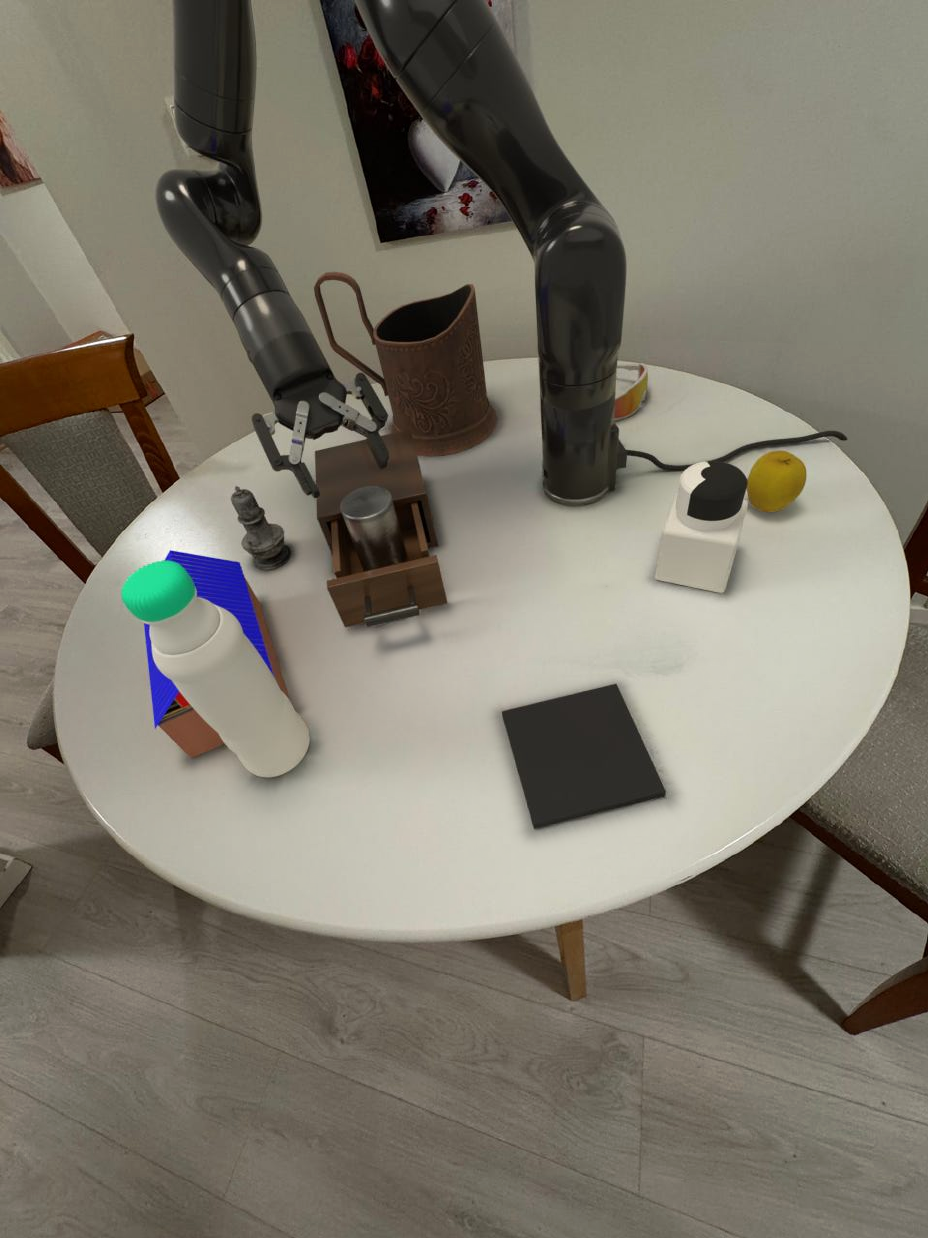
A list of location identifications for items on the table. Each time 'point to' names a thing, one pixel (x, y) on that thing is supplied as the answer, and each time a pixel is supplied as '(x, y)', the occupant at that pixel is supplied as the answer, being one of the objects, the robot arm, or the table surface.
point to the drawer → (385, 577)
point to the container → (703, 527)
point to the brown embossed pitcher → (428, 368)
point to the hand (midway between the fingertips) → (351, 480)
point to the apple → (775, 481)
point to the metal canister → (374, 527)
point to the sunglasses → (631, 392)
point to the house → (235, 595)
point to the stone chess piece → (259, 532)
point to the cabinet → (370, 479)
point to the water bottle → (217, 669)
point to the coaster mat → (580, 756)
